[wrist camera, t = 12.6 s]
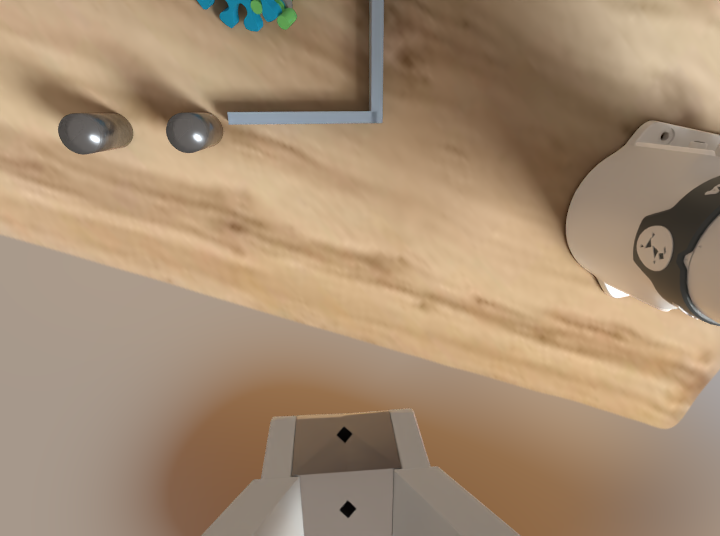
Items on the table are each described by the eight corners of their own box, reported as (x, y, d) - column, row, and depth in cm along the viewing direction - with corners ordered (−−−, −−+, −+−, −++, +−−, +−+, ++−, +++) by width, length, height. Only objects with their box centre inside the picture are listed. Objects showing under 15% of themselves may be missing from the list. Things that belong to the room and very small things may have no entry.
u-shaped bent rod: (381, -104, 33) (385, -117, 31) (379, 122, 39) (382, 123, 37) (208, -110, 32) (201, -123, 30) (233, 123, 38) (228, 124, 36)
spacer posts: (191, -143, 31) (162, -198, 26) (224, 146, 39) (208, 152, 33) (37, -149, 31) (-27, -206, 25) (102, 148, 38) (63, 154, 33)
